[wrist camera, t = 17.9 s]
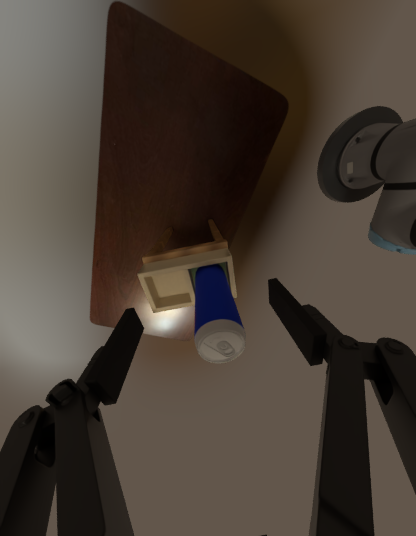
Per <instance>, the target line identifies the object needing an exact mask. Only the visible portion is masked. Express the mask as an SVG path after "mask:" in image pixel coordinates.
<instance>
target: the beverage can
mask: <svg viewBox="0 0 416 536" xmlns="http://www.w3.org/2000/svg"><path fill="white" fill-rule="evenodd" d="M245 337H246V335H245V331H244V328H243V325H242V322H241V319H240V316H239V313H238V310H237V307H236V304H235V302H234V299H233V296H232V293H231V290H230V287H229V284H228V281H227V278H226V275H225V272H224V270H223V268H222V267H221V266H220V265H218V264H212V265H206V266H201V267H199V268H198V269H197V271H196V274H195V345H196V348H197V350H198V353H199V355H200V356H201V357H202V358H203V359H205V360H206V361H209V362H212V363H224V362H228V361H231V360H233V359H235V358H237V357H238V356H239V355H240V354H241V353H242V352H243V351H244V348H245Z"/></svg>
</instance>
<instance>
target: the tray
mask: <svg viewBox="0 0 416 536" xmlns="http://www.w3.org/2000/svg"><path fill="white" fill-rule="evenodd" d="M212 264H218V265H220V266H221V267H222V268H223V270H224V272H225V275H226V278H227V281H228V284H229V287H230V290H231V293H232V296H233V298H236V297H237V293H236V285H235V278H234V270H233V263H232V256H231V254H230V252H229V250H228V248H224V249H219V250H213V251H208V252H203V253H198V254H193V255H188V256H182V257H177V258H172V259H167V260H162V261H157V262H151V263H146V264H144V265H143V267H142V268H141V269H140V271H139V272H138V274H137V275H138V278H139V280H140V282H141V285H142V287H143V289H144V292H145V294H146V297H147V299H148V301H149V304H150V306H151V308H152V311H153V313H156V312H161V311H166V310H172V309H177V308H182V307H188V306H193V305H195V274H196V271H197V269H198V268H199V267H201V266H206V265H212Z"/></svg>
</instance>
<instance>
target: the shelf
mask: <svg viewBox="0 0 416 536" xmlns="http://www.w3.org/2000/svg"><path fill="white" fill-rule="evenodd" d="M208 224H209V227H210V230H211V233H212V236H213V238H214V242H209V243H204V244H199V245H194V246H188V247H183V248H178V249H173V250H168V251H163V249H164V247H165V245H166V244H167V242H168V240H169V238H170V236H171V235H172V233H173V229H172V227H170V228H167V229H166V231H165V232H164V233H163V235H162V236H161V237H160V239H159V240H158V241H157V242H156V244H155V245H154V246H153V248H152V249H151V250H150V252H149V253H148V254H147V255H144V256H143V257H142V260H143V263H144V264H146V263H151V262H157V261H162V260H167V259H172V258H177V257H182V256H188V255H193V254H198V253H203V252H208V251H213V250H219V249H224V248H228V245H227V241H226V239H223V237H222V236H221V234H220V232H219V230H218V228H217V227H216V225H215V223H214V221H213V219H210V220H208ZM162 251H163V252H162Z"/></svg>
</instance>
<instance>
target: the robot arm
mask: <svg viewBox="0 0 416 536" xmlns="http://www.w3.org/2000/svg"><path fill="white" fill-rule="evenodd" d="M336 175H337V178H338V181H339V182H340V184H341V185H342V186H344V187H346V188H349V189H362V188H366V187H368V186H371V185H374V184H377V183H379V182H382V181H385V184H384V187H383V190H382V193H381V196H380V198H379V201H378V204H377V207H376V210H375V213H374V216H373V218H372V221H371V223H370V230H369V234H368V238H369V240H370V241H371V242H372V243H373V244H375V245H376V246H378V247H381V248H383V249H386V250H390V251H398V252H399V253H404V254H416V119H413V120H410V121H407V122H404V123H401V124H393V123H376V124H372V125H370V126H367V127H364V128H362V129H360V130H359V131H357V132H356V133H354V134H353V135H352V136H351V137H350V138H349V139H348V140H347V142H346V143H345V144H344V146H343V148H342V149H341V151H340V154H339V156H338V159H337V164H336ZM268 286H269V303H270V305H271V306H272V308H273V309H274V311H275V312H276V313H277V315H278V317H279V318H280V320H281V322H282V323H283V325H284V326H285V328H286V329H287V331H288V332H289V334H290V335H291V337H292V338H293V340H294V341H295V343H296V345H297V346H298V348H299V349H300V351H301V352H302V354H303V355H304V357H305V358H306V360H307V361H308V363H309V364H310V366H313V365H319V364H322V362H323V358H324V359H325V361H326V362H327V363H328V366H327V371H326V374H327V375H326V385H325V394H324V403H323V413H322V422H321V432H320V442H319V451H318V461H317V470H316V480H315V489H314V498H313V508H312V516H311V522H310V530H309V536H374V524H373V509H372V495H371V494H372V493H371V478H370V463H369V448H368V433H367V417H366V401H365V386H364V379H367V380H370V382H371V384H372V387H373V389H374V392H375V394H376V397H377V399H378V402H379V404H380V407H381V409H382V412H383V414H384V417H385V419H386V422H387V424H388V427H389V429H390V432H391V434H392V437H393V439H394V441H395V444H396V447H397V449H398V452H399V454H400V457H401V459H402V462H403V464H404V467H405V469H406V472H407V474H408V477H409V479H410V482H411V484H412V486H413V489H414V491H415V494H416V356H415V354H414V353H413V351H412V350H411V349H410V348H409V347H408V346H407V345H405V344H403V343H402V342H400V341H397V340H395V339H391V338H380V339H378V341H377V343H365V342H358V341H356V340H355V339H354V338H352V337H350V336H347V335H343V334H342V333H341V332H340V331H339V330H338V329H337V328H336V327H335V326H334V325H333V324H332V323H330V321H328V320H327V319H326V318H325V317H324V316H323V315H322V314H321V313H320V312H319V311H318V310H317V309H316V308H315V307H313V306H311V305H309V304H308V305H303V306H301V305H300V303H299V302H298V301H297V300H296V299H295V298H294V297H293V296H292V295H291V294H290V293H289V291H288V290H287V289H286V288H285V287H284V286H283V285H282V284H281V283H280V282H279V281H278V279H277V278H274V279H270V280H268ZM143 330H144V327H143V325H142V323H141V321H140V319H139V317H138V315H137V313H136V311H135V309H134V308H129V309H126V310H125V312H124V313H123V315H122V317H121V319H120V320H119V322H118V324H117V325H116V327H115V329H114V330H113V332H112V334H111V336H110V337H109V339H108V341H107V342H106V344H105V346H102V347H100V348H99V349H98V350H97V351H96V353H95V354H94V355H93V357H92V358H91V361H90V362H89V363H88V366H87V367H86V368H85V370H84V372H83V373H82V375H81V376H80V378H79V380H78V381H77V383H76V384H75V382H74V381H73V380H72V379H67V380H63V381H62V382H60V383H58V384H57V385H56V386H55V387H54V388H53V389H52V390H51V391H50V392H49V394H48V395H47V397H46V402H48V403H49V404H50V406H48V407H46V408H44V409H43V408H42V407H40V406H39V405H36V406H33V407H31V408H29V409H28V410H27V411H25V412H24V413H23V414H22V415H20V416H19V417H18V419H17V420H16V421H15V422H14V424H13V425H12V427H11V429H10V431H9V433H8V436H7V438H6V440H5V442H4V445H3V447H2V449H1V451H0V536H46V532H47V526H48V521H49V516H50V511H51V506H52V500H53V496H54V490H55V485H56V491H57V528H58V536H134V533H133V529H132V525H131V522H130V518H129V514H128V511H127V507H126V503H125V500H124V496H123V492H122V489H121V485H120V481H119V478H118V474H117V470H116V467H115V463H114V459H113V456H112V452H111V448H110V444H109V441H108V437H107V433H106V430H105V426H104V423H103V419H102V415H101V411H100V409H99V408H98V406H99V404H100V401H101V402H102V403H103V404H104V405H110V404H115V403H116V402H117V399H118V397H119V394H120V391H121V388H122V386H123V383H124V381H125V378H126V375H127V373H128V370H129V367H130V365H131V362H132V359H133V356H134V354H135V351H136V349H137V346H138V343H139V341H140V338H141V335H142V333H143ZM262 536H267V535H262Z"/></svg>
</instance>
